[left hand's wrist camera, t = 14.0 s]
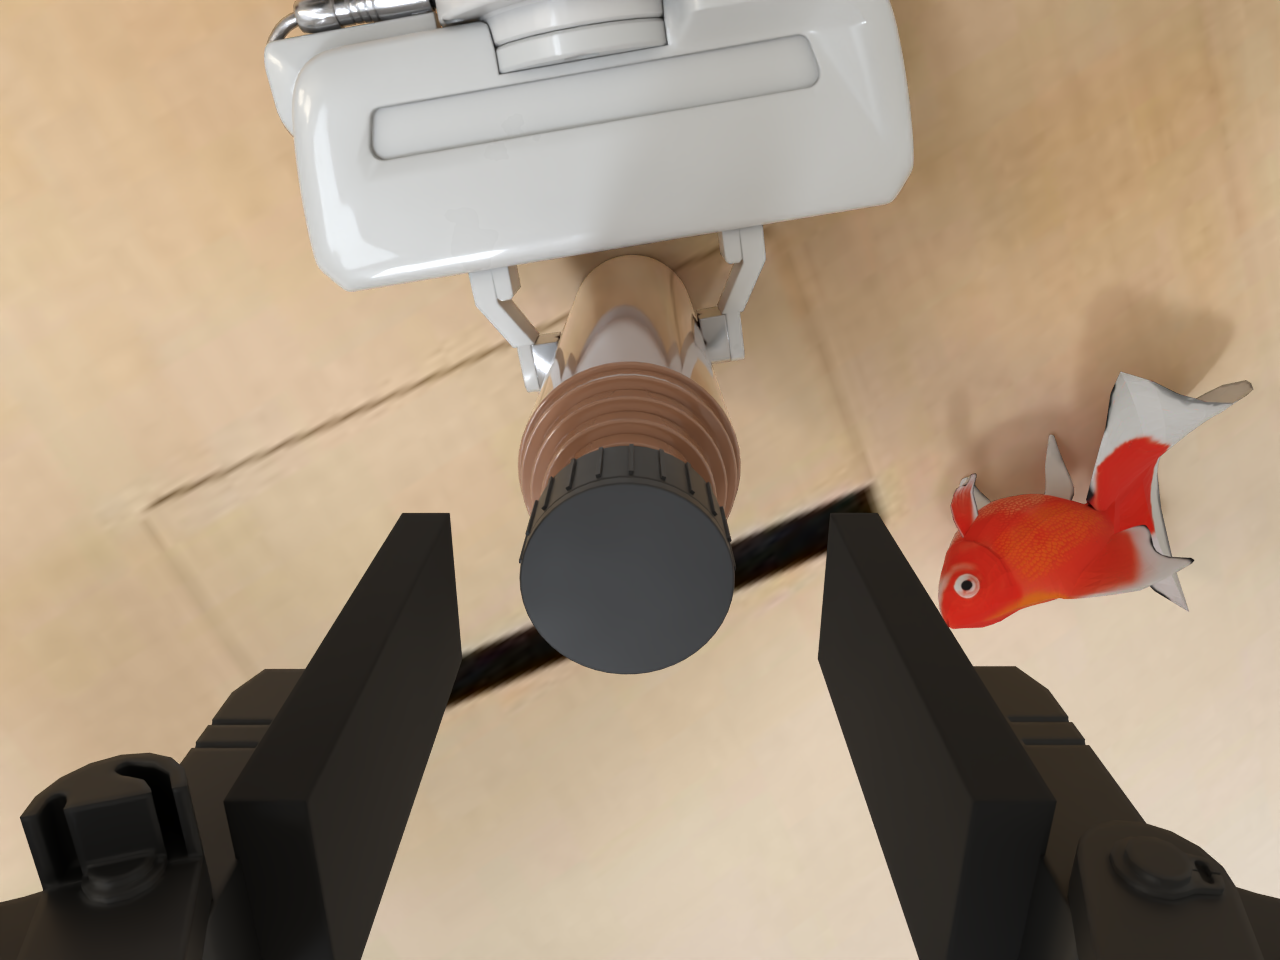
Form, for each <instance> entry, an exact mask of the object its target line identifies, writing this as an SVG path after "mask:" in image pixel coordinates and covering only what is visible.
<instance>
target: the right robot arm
mask: <svg viewBox="0 0 1280 960" xmlns="http://www.w3.org/2000/svg"><path fill="white" fill-rule="evenodd" d="M293 9H294V12H293V13H290V14H289V15H287V16H286V17H284V18H283V19H281V20H280V21H279V22H278V23H277V24H276V26H275V27H274V29H273V30H272V32H271V34H270V36H269V38H268V41H267V44H266V47H265V52H264V63H265V70H266V73H267V77H268V80H269V84H270V88H271V91H272V95H273V98H274V102H275V105H276V109H277V112H278V114H279V117H280V119H281V121H282V123H283V125H284V126H285V128H286V129H287V131H288V132H289V133H290V134H291V135H292V136H293V137H294V147H295V155H296V164H297V172H298V179H299V185H300V192H301V198H302V204H303V209H304V214H305V219H306V224H307V229H308V233H309V238H310V242H311V247H312V250H313V254H314V258H315V261H316V263H317V265H318V267H319V269H320V270H321V271H322V272H323V273H324V274H325V275H327V276H328V277H329V278H330V279H331V280H333V281H334V282H335V283H336V284H337V285H339V286H340V287H341V288H342V289H344V290H346V291H349V292H354V291H361V290H367V289H373V288H379V287H386V286H392V285H398V284H404V283H410V282H416V281H422V280H428V279H434V278H441V277H447V276H453V275H459V274H465V273H468V274H469V278H470V283H471V287H472V292H473V296H474V300H475V305H476V307H477V308H478V309H479V310H480V311H481V312H482V313H483V314H484V315H485V317H486V318H487V319H488V320H489V321H490V322H491V323H492V324H493V326H494V327H495V328H496V329H497V330H498V331H499V332H500V333H501V334H502V336H503V337H504V338H505V339H506V340H507V341H508V342H509V343H510V344H511V346H512V347H513V348H515V347H517V350H518V355H519V359H520V364H521V369H522V373H523V378H524V383H525V387H526V389H527V392H537V391H540V389H541V386H542V384H543V381H544V378H545V376H546V373H547V371H548V368H549V365H550V363H551V360H552V358H553V355H554V352H555V350H556V347H557V344H558V342H559V339H560V337H561V332H556V333H548V334H541V335H539V332H538V331H537V330H536V329H535V328H534V326H533V325H532V324H531V323H530V322H529V320H528V319H527V318H526V317H525V315H524V314H523V313H522V312H521V311H520V309H519V308H518V307H517V306H516V305H515V303H514V302H513V301H512V300H511V299H512V297H513V296H514V295H515V294H516V292H517V291H518V290H519V288H520V287H521V285H520V280H519V275H518V269H517V265H520V264H526V263H532V262H538V261H544V260H550V259H557V258H563V257H569V256H575V255H581V254H587V253H593V252H599V251H605V250H612V249H618V248H624V247H630V246H636V245H642V244H648V243H654V242H660V241H667V240H673V239H679V238H685V237H691V236H697V235H703V234H709V233H715V232H718V239H719V246H720V254H721V255H722V257H723V258H724V259H725V261H726V262H728V263H729V264H733V263H734V264H733V267H732V269H731V272H730V274H729V277H728V279H727V282H726V284H725V287H724V289H723V292H722V294H721V297H720V299H719V302H718V304H717V305H718V306H717V307H711V308H706V309H700V310H696V314H697V322H698V325H699V328H700V331H701V333H702V336H703V339H704V342H705V345H706V348H707V351H708V354H709V357H710V360H711V363H712V364H715V363H722V362H729V361H735V360H741V359H744V343H743V335H742V326H741V318H740V312H742V311H744V309H745V306H746V304H747V302H748V299H749V297H750V295H751V292H752V290H753V288H754V286H755V283H756V281H757V279H758V276H759V274H760V272H761V270H762V267H763V265H764V263H765V260H766V254H765V244H764V234H763V225H764V224H770V223H776V222H783V221H789V220H795V219H801V218H807V217H813V216H819V215H825V214H831V213H838V212H844V211H850V210H856V209H862V208H868V207H874V206H880V205H886V204H889V203H891V202H892V201H893V200H894V199H895V198H896V197H897V195H898V194H899V192H900V191H901V189H902V188H903V186H904V184H905V183H906V181H907V179H908V178H909V176H910V174H911V172H912V169H913V164H914V146H913V130H912V119H911V109H910V100H909V92H908V85H907V78H906V72H905V65H904V59H903V54H902V48H901V43H900V38H899V33H898V28H897V24H896V20H895V16H894V12H893V9H892V6H891V3H890V0H296V1H295V2H294V5H293ZM436 10H437V14H436ZM372 22H375V23H372ZM361 23H369V24H364V25H358V26H352V27H347V28H345V27H346V26H351V25H356V24H361ZM297 26H299V28H300V29H301V30H302V32H304V33H309V34H308V35H303V36H297V37H291V38H286V39H284V38H285V37H286V35H287V34H288V33H289V32H290V31H291V30H293V29H294V28H296V27H297ZM441 26H442V27H443V28H441Z"/></svg>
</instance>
